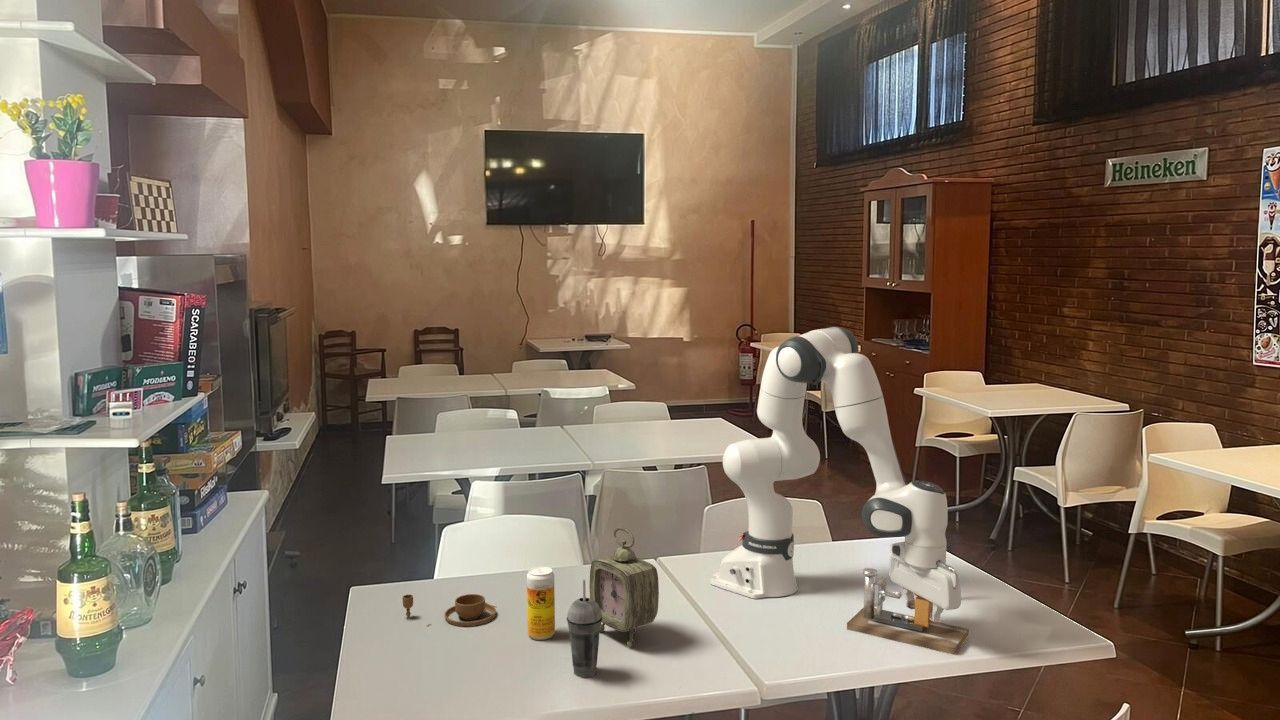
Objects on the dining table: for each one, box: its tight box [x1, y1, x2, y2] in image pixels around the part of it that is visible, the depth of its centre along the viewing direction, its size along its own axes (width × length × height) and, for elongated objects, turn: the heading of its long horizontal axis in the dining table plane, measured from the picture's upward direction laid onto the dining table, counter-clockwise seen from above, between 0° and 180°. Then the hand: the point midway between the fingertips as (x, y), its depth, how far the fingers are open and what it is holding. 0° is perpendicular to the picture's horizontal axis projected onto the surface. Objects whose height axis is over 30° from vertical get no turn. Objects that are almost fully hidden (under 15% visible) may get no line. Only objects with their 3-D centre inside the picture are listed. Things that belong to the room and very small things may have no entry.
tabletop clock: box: [589, 526, 660, 648], centre depth 200 cm, size 14×9×25 cm, turn 40°
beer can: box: [526, 566, 556, 641], centre depth 201 cm, size 6×6×15 cm
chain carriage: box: [874, 577, 934, 632], centre depth 203 cm, size 12×5×9 cm, turn 57°
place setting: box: [401, 593, 498, 628], centre depth 214 cm, size 18×20×6 cm
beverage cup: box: [566, 579, 602, 678], centre depth 183 cm, size 7×7×20 cm
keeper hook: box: [862, 567, 903, 619], centre depth 206 cm, size 9×3×11 cm, turn 56°
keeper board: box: [846, 606, 970, 655], centre depth 203 cm, size 24×12×2 cm, turn 57°
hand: (922, 614), depth 201 cm, fingers open, 6 cm apart
